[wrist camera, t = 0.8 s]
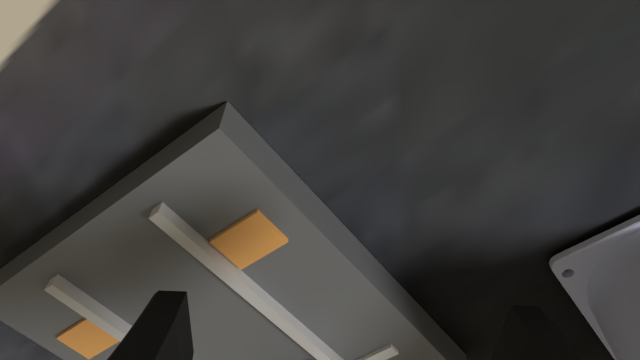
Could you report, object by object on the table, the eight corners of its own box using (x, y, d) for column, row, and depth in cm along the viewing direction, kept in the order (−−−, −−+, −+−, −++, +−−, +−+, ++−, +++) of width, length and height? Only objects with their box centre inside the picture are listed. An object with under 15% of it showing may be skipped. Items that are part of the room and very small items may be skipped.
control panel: (466, 354, 28) (478, 400, 26) (258, 444, 33) (254, 489, 31) (227, 101, 20) (216, 137, 18) (-3, 270, 25) (-34, 315, 22)
